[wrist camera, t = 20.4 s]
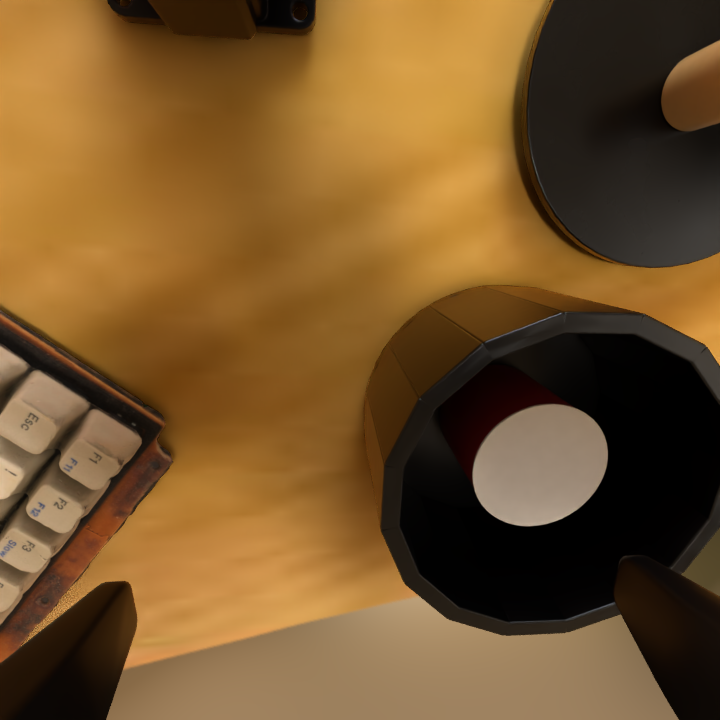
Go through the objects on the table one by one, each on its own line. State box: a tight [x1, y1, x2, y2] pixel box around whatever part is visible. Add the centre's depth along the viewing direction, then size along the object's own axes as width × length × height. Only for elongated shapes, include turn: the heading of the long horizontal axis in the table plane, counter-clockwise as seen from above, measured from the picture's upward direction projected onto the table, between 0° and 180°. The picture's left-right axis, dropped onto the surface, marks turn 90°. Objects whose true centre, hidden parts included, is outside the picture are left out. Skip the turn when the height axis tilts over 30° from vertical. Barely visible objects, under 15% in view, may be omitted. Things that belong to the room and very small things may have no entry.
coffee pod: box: [440, 364, 608, 526], centre depth 16 cm, size 5×5×4 cm
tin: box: [364, 285, 720, 636], centre depth 15 cm, size 11×11×6 cm
